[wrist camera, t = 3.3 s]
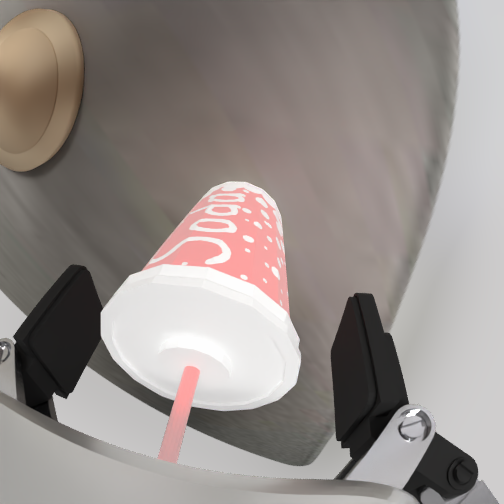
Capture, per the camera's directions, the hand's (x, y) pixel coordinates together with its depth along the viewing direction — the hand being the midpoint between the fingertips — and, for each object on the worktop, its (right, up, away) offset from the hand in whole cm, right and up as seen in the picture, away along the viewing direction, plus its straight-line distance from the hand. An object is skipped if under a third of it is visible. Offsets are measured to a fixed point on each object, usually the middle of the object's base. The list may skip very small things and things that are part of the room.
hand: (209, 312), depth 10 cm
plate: (-13, +12, +2) cm, 18 cm away
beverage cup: (+1, +4, +6) cm, 7 cm away
